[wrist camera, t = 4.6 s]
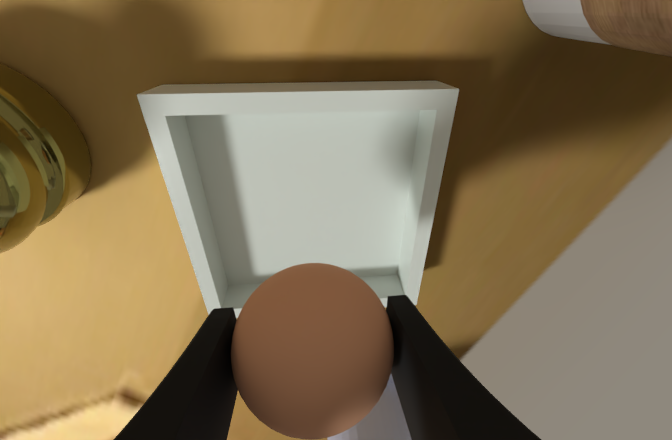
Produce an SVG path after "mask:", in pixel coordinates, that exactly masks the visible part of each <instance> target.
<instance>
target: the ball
mask: <svg viewBox="0 0 672 440" xmlns="http://www.w3.org/2000/svg"><path fill="white" fill-rule="evenodd" d="M393 358H394V340H393V331H392V327H391V324H390V320H389V317H388V314H387V312H386V310H385V308H384V306H383V304H382V302H381V300H380V299H379V297H378V296H377V295H376V293H375V292H374V291H373V290H372V289H371V287H370V286H369V285H368V284H367V283H365V282H364V281H363V280H362V279H361V278H359V277H358V276H356V275H355V274H353V273H352V272H350V271H348V270H345V269H343V268H340V267H337V266H334V265H330V264H324V263H306V264H300V265H295V266H292V267H289V268H286V269H284V270H281V271H279V272H278V273H276V274H274V275H273V276H271V277H269V278H268V279H267V280H265V281H264V282H263V283H262V284H261V285H260V286H259V287H258V288H257V289H256V290H255V291H254V292H253V293H252V294H251V296H250V297H249V298H248V300H247V301H246V303H245V304H244V306H243V308H242V310H241V312H240V314H239V316H238V318H237V321H236V324H235V327H234V331H233V335H232V344H231V365H232V372H233V376H234V380H235V383H236V386H237V388H238V391H239V393H240V395H241V397H242V399H243V400H244V402H245V403H246V405H247V407H248V408H249V409H250V410H251V412H252V413H253V414H254V415H255V416H256V417H257V418H258V419H259V420H260V421H261V422H263V423H264V424H265V425H267V426H268V427H270V428H271V429H273V430H275V431H277V432H279V433H281V434H283V435H286V436H289V437H294V438H300V439H322V438H327V437H331V436H334V435H337V434H339V433H342V432H344V431H346V430H348V429H349V428H351V427H353V426H354V425H356V424H357V423H358V422H360V421H361V420H362V419H363V418H364V417H365V416H366V415H367V414H368V413H369V412H370V411H371V410H372V409H373V407H374V406H375V405H376V404H377V402H378V401H379V399H380V397H381V396H382V394H383V392H384V390H385V388H386V386H387V383H388V380H389V377H390V374H391V370H392V365H393Z"/></svg>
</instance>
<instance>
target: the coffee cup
mask: <svg viewBox="0 0 672 440" xmlns="http://www.w3.org/2000/svg"><path fill="white" fill-rule="evenodd" d="M523 3H524V7H525V10H526V12H527V14H528V16H529V17H530V19H531V21H532V22H533V23H534V24H535V25H536V26H537V27H538V28H539V29H540V30H541V31H543V32H545V33H547V34H549V35H552V36H557V37H562V38H568V39H575V40H581V41H588V42H595V43H602V44H609V45H613V46H616V47H621V48H627V49H632V50H637V51H643V52H648V53H654V54H659V55H665V56H670V57H672V0H523Z"/></svg>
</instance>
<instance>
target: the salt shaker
mask: <svg viewBox="0 0 672 440" xmlns="http://www.w3.org/2000/svg"><path fill="white" fill-rule="evenodd" d="M90 174H91V160H90V154H89V150H88V147H87V144H86V142H85V139H84V137H83V135H82V133H81V131H80V129H79V128H78V126H77V125H76V123H75V122H74V120H73V119H72V118H71V116H70V115H69V114H68V112H67V111H66V110H65V109H64V108H63V107H62V106H61V105H60V104H59V102H58V101H57V100H55V99H54V98H53V97H52V96H51V95H50V94H49V93H48V92H46V91H45V90H44V89H43V88H42V87H40V86H39V85H38V84H36V83H35V82H33V81H32V80H30V79H29V78H27V77H26V76H24V75H22V74H21V73H19V72H17V71H15V70H13V69H11V68H9V67H7V66H5V65H3V64H0V253H3V252H5V251H8V250H10V249H12V248H14V247H15V246H17V245H18V244H20V243H21V242H23V241H24V240H25V239H26V238H27V237H28V236H29V235H30V234H31V233H32V232H33V231H34V230H35V228H36V227H38V226H40V225H43V224H45V223H47V222H49V221H50V220H52V219H53V218H55V217H56V216H57V215H58V214H59V213H60V212H61V210H62V209H63V208H65V207H66V206H68V205H69V204H70V203H72V202H73V201H75V200H76V199H77V198H78V197H79V196H80V195H81V194H82V193H83V192H84V190H85V188H86V187H87V184H88V182H89V179H90Z"/></svg>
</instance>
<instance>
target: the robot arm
mask: <svg viewBox="0 0 672 440" xmlns="http://www.w3.org/2000/svg"><path fill="white" fill-rule="evenodd" d="M386 312H387V314H388V317H389V320H390V324H391V327H392V331H393V340H394V358H393V365H392V370H391V374H390V377H389V380H388V383H387V386H386V388H385V390H384V392H383V394H382V396H381V397H380V399H379V401H378V402H377V404H376V405H375V406H374V407H373V409H372V410H371V411H370V412H369V413H368V414H367V415H366V416H365V417H364V418H363V419H362V420H361V421H360V422H358V423H357V424H356V425H354V426H353V427H351V428H349V429H348V430H346V431H344V432H342V433H339V434H337V435H334V436H331V437H327V439H328V440H541V439H540V438H539V437H538V436H536V435H535V434H534V433H533V432H531V431H530V430H529V429H528V428H527V427H526V426H525V425H524V424H523V423H522V422H520V421H519V420H518V419H517V418H516V417H515V416H514V415H513V414H512V413H511V412H510V411H509V410H507V409H506V408H505V407H504V406H503V405H502V404H501V403H500V402H499V401H498V400H497V399H496V398H495V397H494V396H493V395H492V394H490V392H489V391H488V390H487V389H486V388H485V387H484V386H483V385H482V384H481V383H480V382H479V381H478V380H477V379H476V378H475V377H474V376H473V375H472V374H471V373H470V371H469V370H468V369H467V368H466V367H465V366H464V365H463V364H462V363H461V362H460V361H459V359H458V358H457V357H456V356H455V355H454V354H453V353H452V351H451V350H450V349H449V348H448V347H447V346H446V344H445V343H444V342H443V341H442V340H441V339H440V337H439V336H438V335H437V334H436V333H435V331H434V330H433V329H432V328H431V326H430V325H429V324H428V322H427V321H426V320H425V319H424V317H423V316H422V315H421V313H420V312H419V311H418V310H417V308H416V307H415V305H414V304H413V303H412V301H411V300H410V299H409V297H408V296H407V295H396V296H388V299H387V308H386ZM236 321H237V320H236V316H235V312H234V308H233V307H230V308H216V309H213V310H212V311H211V312H210V314H209V315H208V317H207V318H206V320H205V321H204V323H203V324H202V326H201V327H200V329H199V330H198V332H197V333H196V335H195V336H194V338H193V339H192V341H191V342H190V344H189V345H188V347H187V348H186V349H185V351H184V352H183V354H182V355H181V356H180V358H179V359H178V360H177V362H176V363H175V365H174V366H173V367H172V369H171V370H170V371H169V373H168V374H167V375H166V377H165V378H164V379H163V381H162V382H161V383H160V384H159V386H158V387H157V388H156V389H155V391H154V392H153V393H152V395H151V396H150V397H149V398H148V400H147V401H146V402H145V403H144V405H143V406H142V407H141V408H140V410H139V411H138V412H137V413H136V414H135V416H134V417H133V418H132V419H131V420H130V421H129V423H128V424H127V425H126V426H125V427H124V428H123V430H122V431H121V432H120V433H119V434H118V435H117V436H116V438H115V439H114V440H227V435H228V431H229V427H230V422H231V418H232V413H233V409H234V405H235V400H236V396H237V391H238V388H237V386H236V383H235V380H234V376H233V372H232V365H231V344H232V335H233V331H234V327H235V324H236Z"/></svg>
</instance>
